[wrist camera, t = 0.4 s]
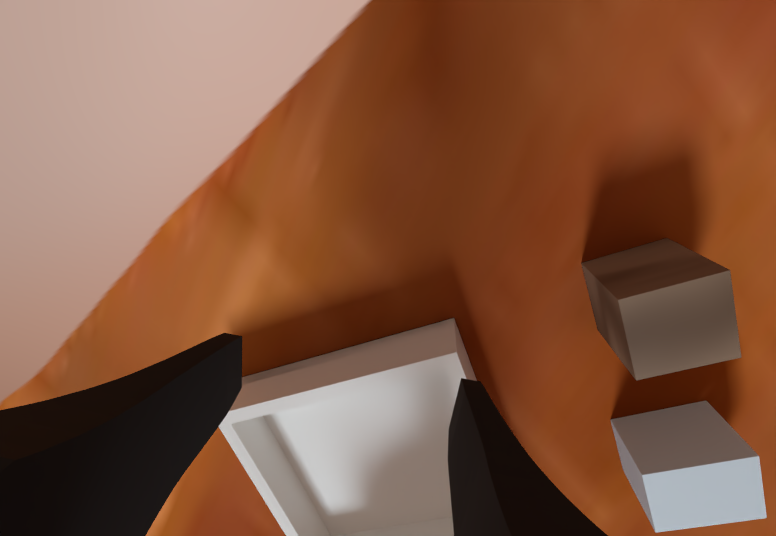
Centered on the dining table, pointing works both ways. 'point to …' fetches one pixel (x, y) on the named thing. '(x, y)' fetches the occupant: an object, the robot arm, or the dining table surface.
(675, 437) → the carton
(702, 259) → the walnut block
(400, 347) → the tote
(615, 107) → the dining table surface
